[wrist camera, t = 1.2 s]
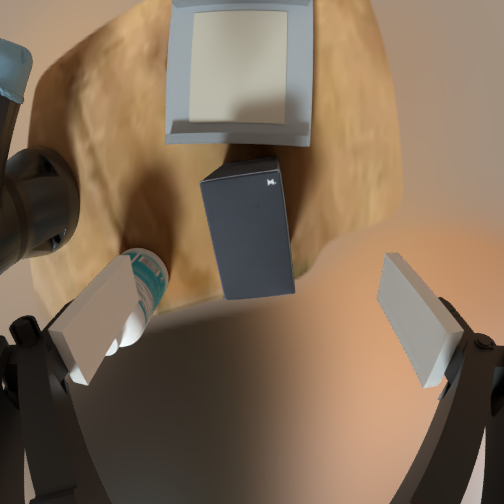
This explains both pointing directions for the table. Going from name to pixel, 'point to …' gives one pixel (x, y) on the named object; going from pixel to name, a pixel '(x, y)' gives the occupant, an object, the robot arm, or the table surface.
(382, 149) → the table surface
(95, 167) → the table surface
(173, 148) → the table surface
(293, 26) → the dock
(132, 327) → the pill bottle
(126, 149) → the table surface
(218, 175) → the small box
